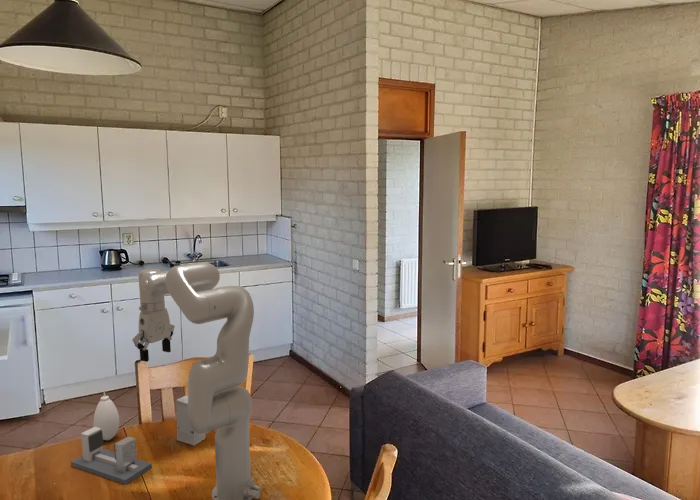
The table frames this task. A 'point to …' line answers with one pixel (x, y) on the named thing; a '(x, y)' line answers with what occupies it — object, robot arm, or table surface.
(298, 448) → the table surface
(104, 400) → the sauce bottle
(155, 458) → the table surface
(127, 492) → the table surface
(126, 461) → the left finger
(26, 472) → the table surface
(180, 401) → the skincare box
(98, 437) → the rail base
